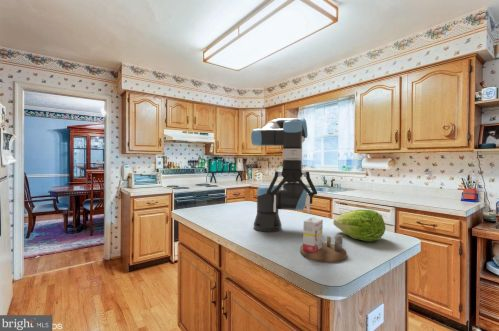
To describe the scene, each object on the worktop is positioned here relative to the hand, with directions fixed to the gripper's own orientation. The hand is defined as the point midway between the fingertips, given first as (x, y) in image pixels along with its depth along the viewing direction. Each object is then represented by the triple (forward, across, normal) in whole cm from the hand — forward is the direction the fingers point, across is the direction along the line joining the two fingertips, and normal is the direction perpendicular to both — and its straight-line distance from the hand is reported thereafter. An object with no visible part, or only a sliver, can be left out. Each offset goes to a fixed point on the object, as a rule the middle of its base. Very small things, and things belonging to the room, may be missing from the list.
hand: (291, 211), depth 103 cm
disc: (+16, +13, -2) cm, 21 cm away
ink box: (+15, +9, -1) cm, 18 cm away
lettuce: (+17, +35, +20) cm, 44 cm away
